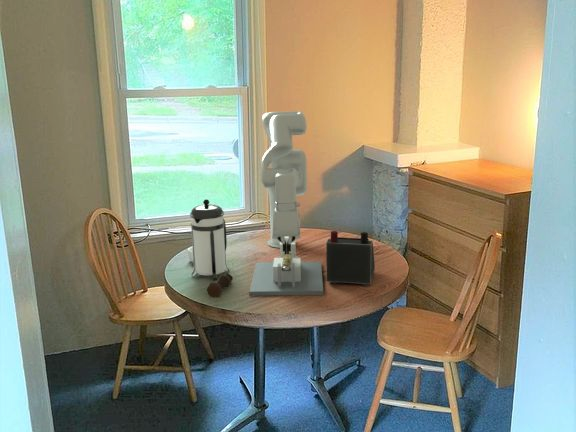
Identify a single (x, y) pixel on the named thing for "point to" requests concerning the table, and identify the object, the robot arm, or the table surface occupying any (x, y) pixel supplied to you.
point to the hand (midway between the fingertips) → (286, 253)
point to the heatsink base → (286, 289)
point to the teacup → (190, 253)
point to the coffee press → (208, 240)
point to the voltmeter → (349, 259)
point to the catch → (293, 248)
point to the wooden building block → (286, 262)
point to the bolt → (219, 286)
